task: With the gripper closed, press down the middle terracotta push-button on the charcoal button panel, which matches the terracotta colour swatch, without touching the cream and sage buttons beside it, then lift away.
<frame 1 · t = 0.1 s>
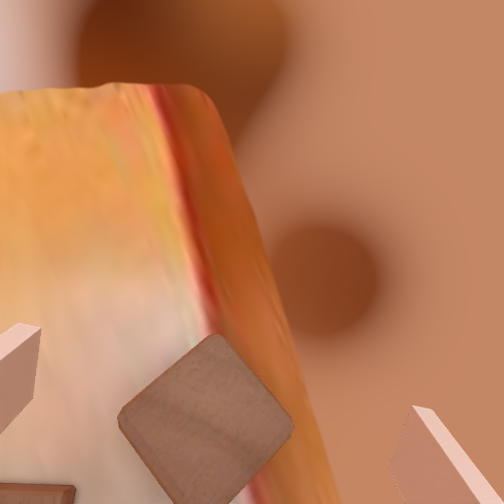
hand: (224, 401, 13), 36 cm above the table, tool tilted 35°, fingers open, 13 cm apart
block: (200, 415, 46), on the table
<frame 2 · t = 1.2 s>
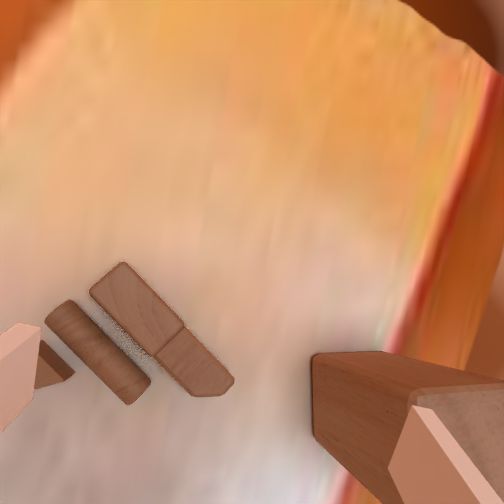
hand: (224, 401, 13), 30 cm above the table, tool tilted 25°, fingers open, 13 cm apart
wooden block set: (119, 371, 41), on the table
block: (348, 393, 45), on the table
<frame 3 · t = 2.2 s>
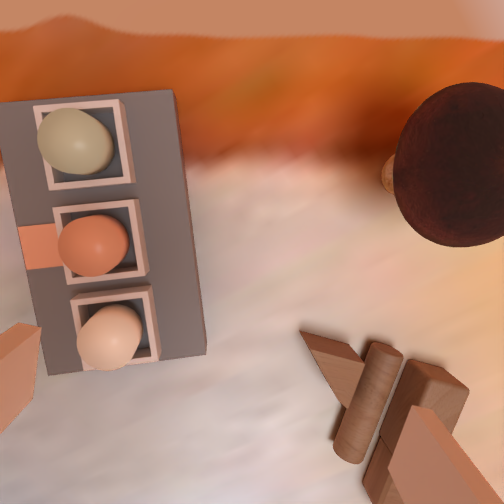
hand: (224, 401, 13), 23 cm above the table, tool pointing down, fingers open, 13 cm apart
decorative mushroom: (394, 173, 36), on the table
terracotta button: (96, 244, 29), point 6 cm above the table, slide at 0.0 cm
wooden block set: (347, 414, 41), on the table
button panel: (116, 234, 35), on the table
sage button: (78, 143, 27), point 6 cm above the table, slide at 0.0 cm
cream button: (111, 336, 30), point 6 cm above the table, slide at 0.0 cm
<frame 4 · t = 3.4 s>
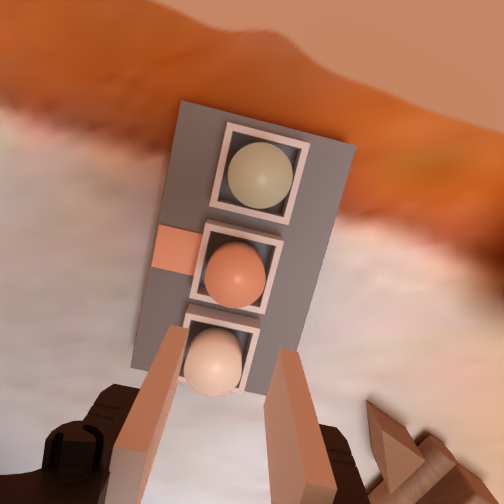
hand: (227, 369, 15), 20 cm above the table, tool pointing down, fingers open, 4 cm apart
terracotta button: (235, 273, 28), point 6 cm above the table, slide at 0.0 cm
wooden block set: (373, 487, 41), on the table
button panel: (237, 255, 34), on the table
sage button: (259, 175, 27), point 6 cm above the table, slide at 0.0 cm
cream button: (214, 361, 30), point 6 cm above the table, slide at 0.0 cm
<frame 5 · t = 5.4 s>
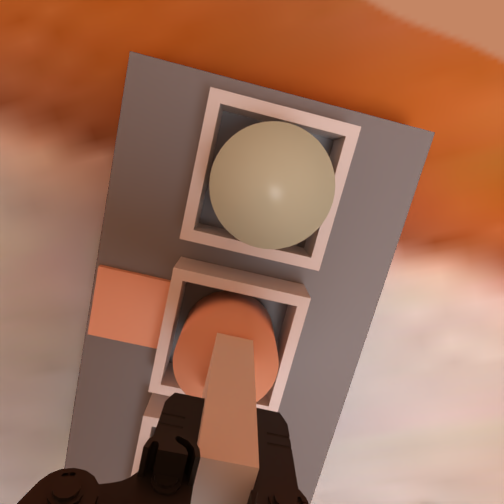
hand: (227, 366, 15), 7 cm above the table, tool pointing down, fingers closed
terracotta button: (227, 347, 17), point 5 cm above the table, slide at 0.9 cm, touching gripper
button panel: (231, 306, 22), on the table
sage button: (269, 185, 14), point 6 cm above the table, slide at 0.0 cm
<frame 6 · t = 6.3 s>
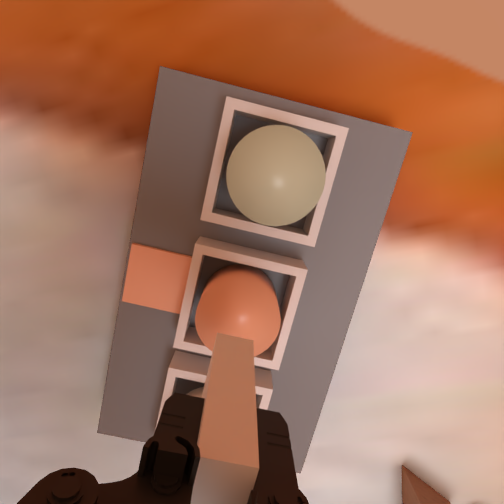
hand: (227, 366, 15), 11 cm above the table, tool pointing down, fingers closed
terracotta button: (238, 309, 21), point 5 cm above the table, slide at 1.0 cm
button panel: (240, 281, 25), on the table
sage button: (273, 175, 18), point 6 cm above the table, slide at 0.0 cm
cream button: (208, 435, 21), point 6 cm above the table, slide at 0.0 cm
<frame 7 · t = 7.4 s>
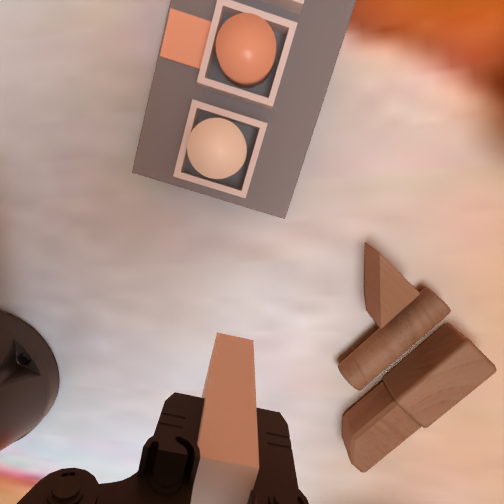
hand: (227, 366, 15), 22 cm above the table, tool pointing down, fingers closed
terracotta button: (246, 52, 28), point 5 cm above the table, slide at 1.0 cm
wooden block set: (362, 346, 40), on the table
button panel: (247, 69, 33), on the table
cream button: (218, 149, 29), point 6 cm above the table, slide at 0.0 cm
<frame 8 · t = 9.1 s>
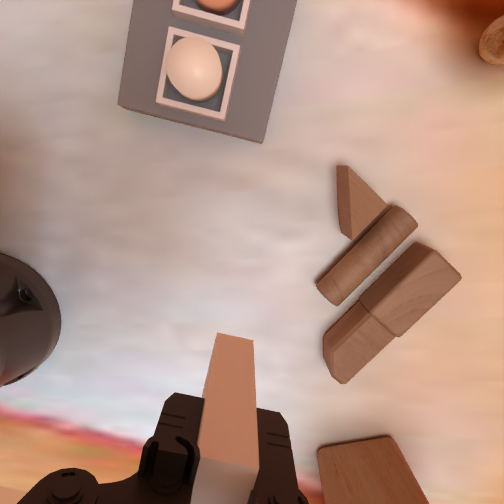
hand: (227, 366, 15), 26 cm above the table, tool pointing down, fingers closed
decorative mushroom: (491, 46, 37), on the table
wooden block set: (339, 269, 43), on the table
button panel: (219, 4, 36), on the table
cream button: (195, 71, 31), point 6 cm above the table, slide at 0.0 cm
block: (357, 470, 48), on the table
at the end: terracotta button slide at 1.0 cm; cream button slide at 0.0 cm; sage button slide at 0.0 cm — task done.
